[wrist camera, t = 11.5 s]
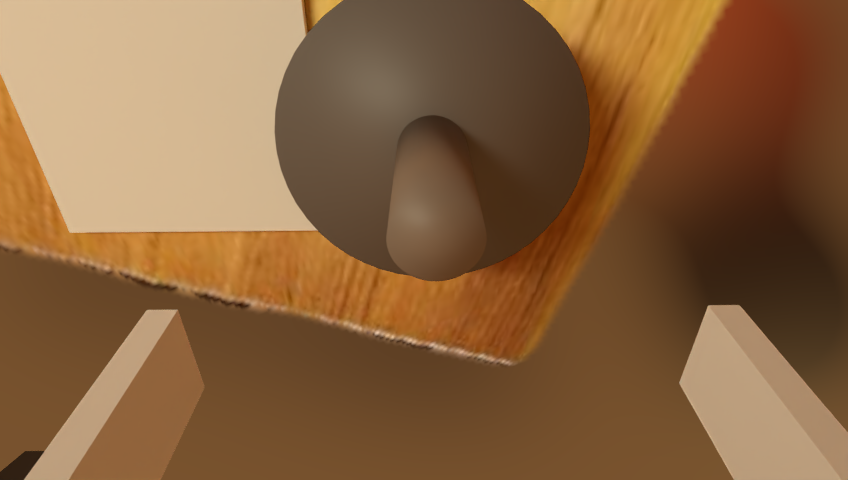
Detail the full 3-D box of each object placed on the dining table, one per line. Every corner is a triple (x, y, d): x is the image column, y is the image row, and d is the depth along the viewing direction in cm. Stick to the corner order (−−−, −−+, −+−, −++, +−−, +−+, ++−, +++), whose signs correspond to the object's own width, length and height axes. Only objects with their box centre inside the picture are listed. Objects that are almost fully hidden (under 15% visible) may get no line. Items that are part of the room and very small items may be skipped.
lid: (254, -27, 22) (147, -5, 14) (608, -31, 22) (727, -11, 14) (302, 266, 31) (254, 396, 22) (561, 264, 31) (616, 393, 22)
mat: (-54, -75, 26) (-64, -75, 25) (294, -78, 26) (291, -78, 25) (75, 228, 35) (69, 232, 35) (330, 226, 35) (329, 230, 35)
